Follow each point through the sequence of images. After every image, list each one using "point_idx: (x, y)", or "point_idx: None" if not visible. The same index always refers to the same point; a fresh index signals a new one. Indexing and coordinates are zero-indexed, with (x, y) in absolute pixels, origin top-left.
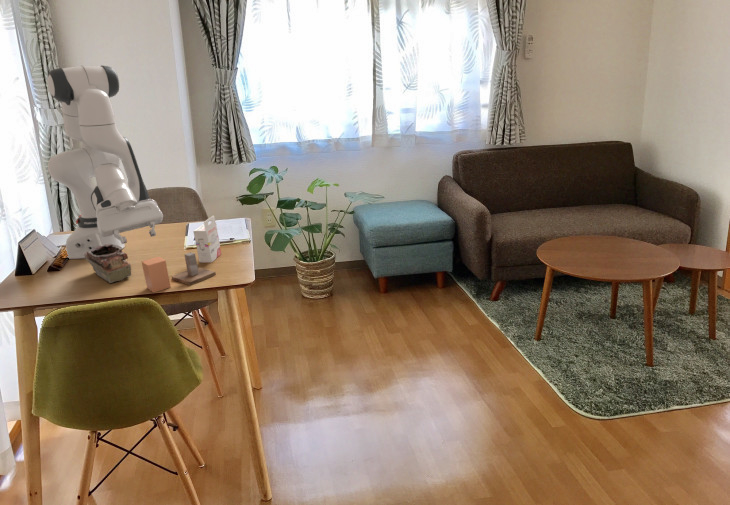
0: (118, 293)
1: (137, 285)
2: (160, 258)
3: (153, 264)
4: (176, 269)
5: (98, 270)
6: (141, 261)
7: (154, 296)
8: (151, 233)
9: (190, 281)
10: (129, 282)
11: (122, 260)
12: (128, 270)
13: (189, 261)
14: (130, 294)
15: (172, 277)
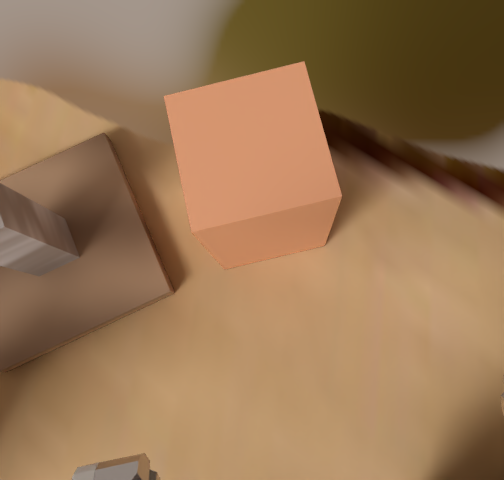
0: (489, 258)
1: (374, 324)
2: (188, 167)
3: (260, 76)
4: None
5: None
6: (341, 195)
7: None
8: (137, 460)
9: (96, 143)
10: (420, 415)
11: None
12: None
13: (14, 194)
14: (421, 200)
15: (167, 283)
